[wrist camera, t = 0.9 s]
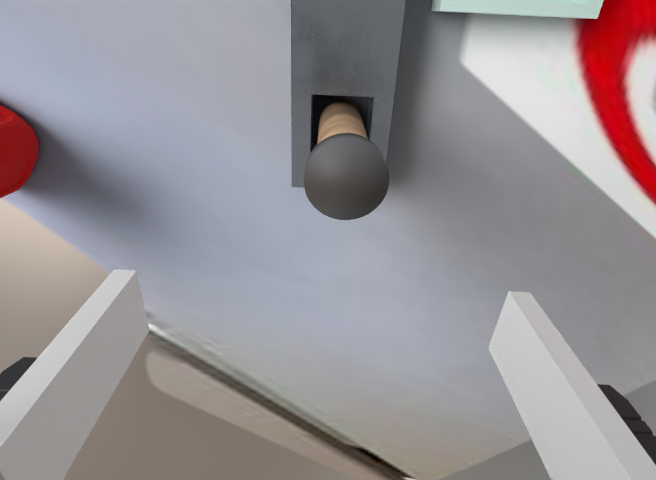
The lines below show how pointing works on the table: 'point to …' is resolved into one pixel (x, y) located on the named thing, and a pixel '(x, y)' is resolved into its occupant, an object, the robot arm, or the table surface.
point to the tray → (523, 7)
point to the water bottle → (15, 151)
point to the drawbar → (343, 65)
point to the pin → (344, 165)
